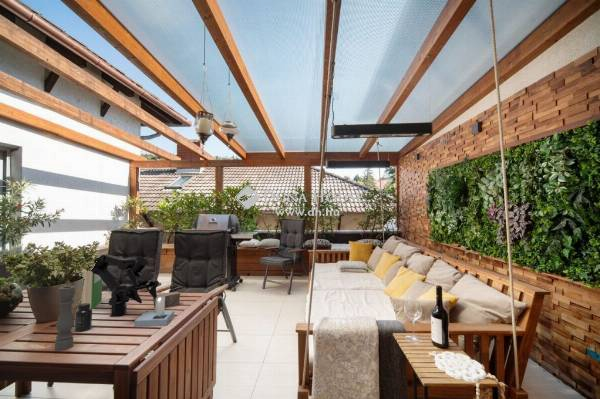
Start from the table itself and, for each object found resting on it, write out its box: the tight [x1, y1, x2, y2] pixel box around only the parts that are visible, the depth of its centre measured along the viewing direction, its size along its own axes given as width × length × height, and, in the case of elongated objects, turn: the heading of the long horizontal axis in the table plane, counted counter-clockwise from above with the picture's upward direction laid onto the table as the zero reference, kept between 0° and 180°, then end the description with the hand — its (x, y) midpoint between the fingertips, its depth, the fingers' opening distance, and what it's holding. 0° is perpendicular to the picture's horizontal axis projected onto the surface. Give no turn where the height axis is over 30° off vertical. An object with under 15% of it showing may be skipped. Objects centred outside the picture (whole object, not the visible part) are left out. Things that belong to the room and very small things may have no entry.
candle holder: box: [54, 285, 76, 352], centre depth 126 cm, size 6×6×25 cm
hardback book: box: [79, 271, 103, 310], centre depth 185 cm, size 18×7×24 cm, turn 20°
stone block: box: [152, 291, 181, 309], centre depth 183 cm, size 14×9×8 cm, turn 133°
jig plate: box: [134, 310, 175, 328], centre depth 158 cm, size 15×15×3 cm
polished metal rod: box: [154, 296, 166, 319], centre depth 156 cm, size 4×4×13 cm
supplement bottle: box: [73, 303, 93, 333], centre depth 146 cm, size 7×7×12 cm
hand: (149, 300), depth 159 cm, fingers open, 9 cm apart
